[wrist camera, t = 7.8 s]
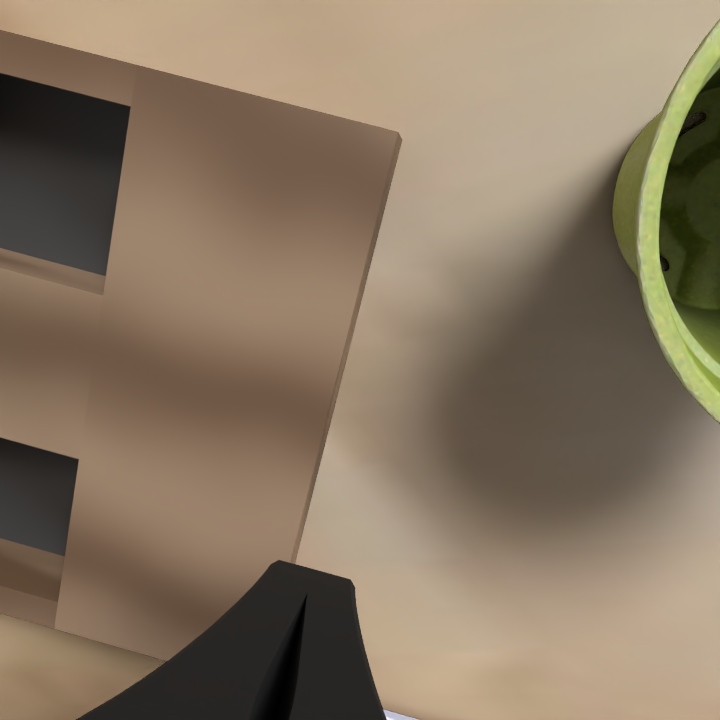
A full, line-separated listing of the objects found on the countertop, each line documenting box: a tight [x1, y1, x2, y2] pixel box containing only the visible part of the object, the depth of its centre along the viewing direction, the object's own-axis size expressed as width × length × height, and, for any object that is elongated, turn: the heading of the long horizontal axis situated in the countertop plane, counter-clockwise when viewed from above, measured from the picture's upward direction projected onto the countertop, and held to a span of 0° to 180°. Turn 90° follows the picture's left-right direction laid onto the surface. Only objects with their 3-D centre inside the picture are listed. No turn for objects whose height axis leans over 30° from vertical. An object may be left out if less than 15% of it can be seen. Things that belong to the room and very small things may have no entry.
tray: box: [0, 30, 402, 661], centre depth 19 cm, size 17×16×4 cm
